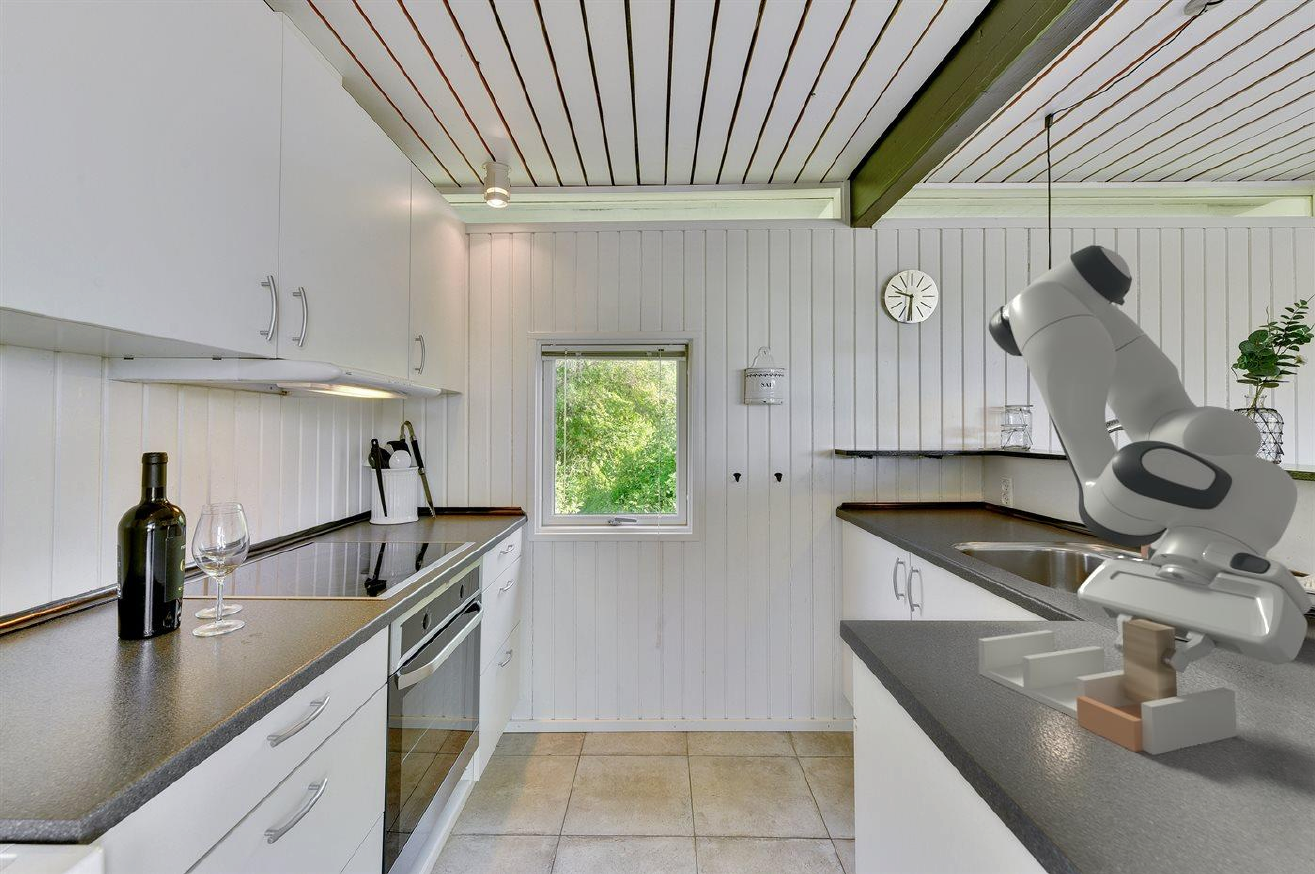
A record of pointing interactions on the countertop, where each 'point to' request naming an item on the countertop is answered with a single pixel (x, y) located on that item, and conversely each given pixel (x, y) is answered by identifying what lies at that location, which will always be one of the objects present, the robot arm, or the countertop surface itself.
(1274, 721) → the countertop surface
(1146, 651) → the block
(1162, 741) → the rack
